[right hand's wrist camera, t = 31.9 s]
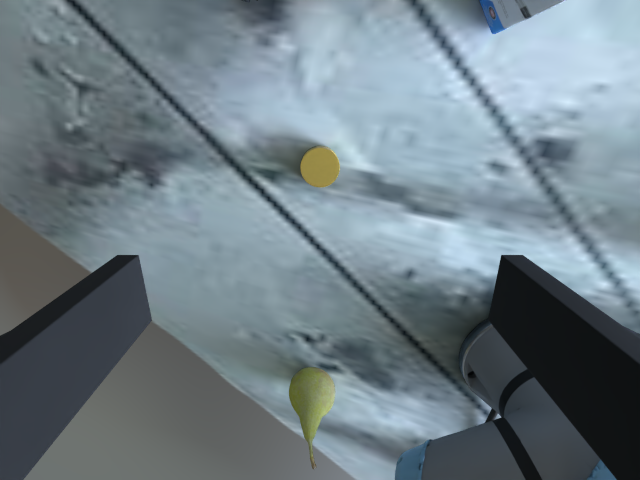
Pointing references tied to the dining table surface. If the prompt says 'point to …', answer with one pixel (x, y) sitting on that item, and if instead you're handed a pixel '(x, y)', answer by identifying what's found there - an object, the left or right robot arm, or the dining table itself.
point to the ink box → (513, 11)
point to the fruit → (311, 400)
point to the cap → (320, 166)
